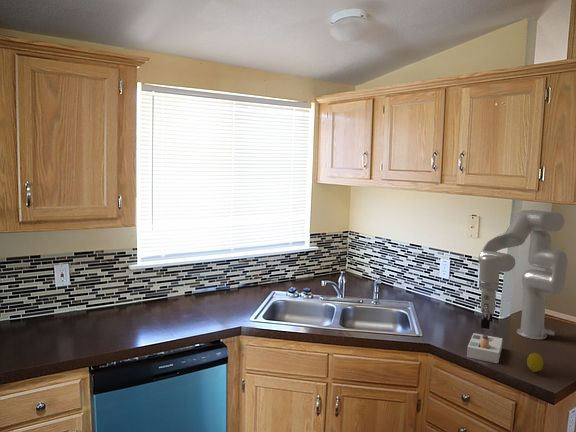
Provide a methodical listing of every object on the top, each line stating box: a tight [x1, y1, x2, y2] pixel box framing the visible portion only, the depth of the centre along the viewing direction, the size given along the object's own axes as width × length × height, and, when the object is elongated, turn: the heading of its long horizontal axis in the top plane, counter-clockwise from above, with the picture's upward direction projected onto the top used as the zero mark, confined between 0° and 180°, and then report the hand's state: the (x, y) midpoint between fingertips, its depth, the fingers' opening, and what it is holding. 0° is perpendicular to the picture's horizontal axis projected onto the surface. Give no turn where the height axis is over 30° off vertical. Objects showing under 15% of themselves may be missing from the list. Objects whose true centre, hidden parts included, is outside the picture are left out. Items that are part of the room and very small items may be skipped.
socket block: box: [466, 332, 503, 364], centre depth 196 cm, size 12×18×5 cm, turn 151°
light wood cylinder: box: [480, 334, 489, 349], centre depth 192 cm, size 3×3×9 cm
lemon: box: [526, 352, 544, 373], centre depth 178 cm, size 6×6×8 cm
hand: (486, 324), depth 191 cm, fingers open, 9 cm apart
